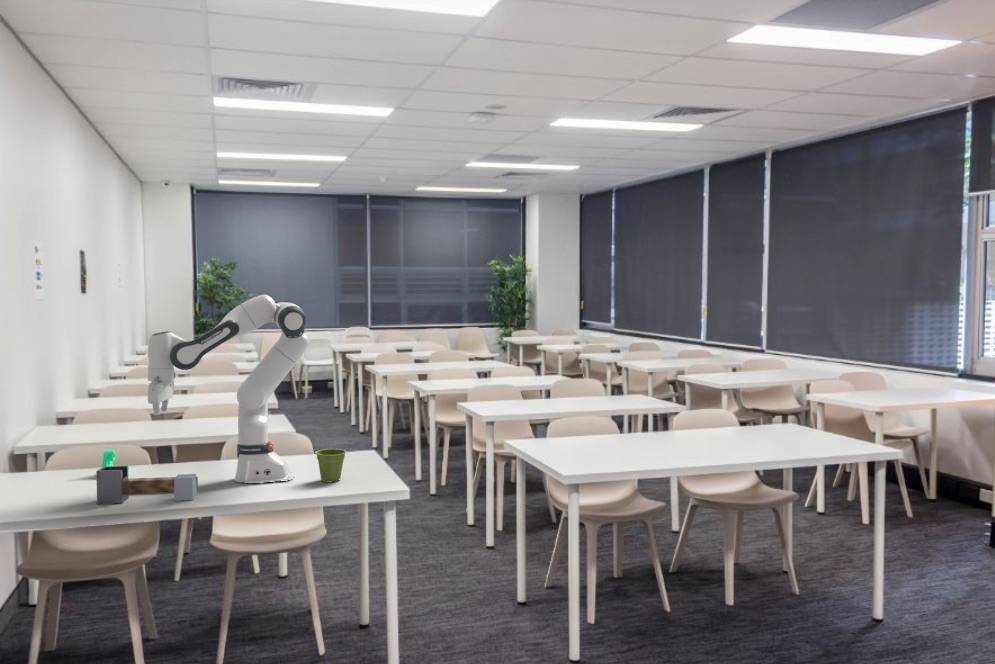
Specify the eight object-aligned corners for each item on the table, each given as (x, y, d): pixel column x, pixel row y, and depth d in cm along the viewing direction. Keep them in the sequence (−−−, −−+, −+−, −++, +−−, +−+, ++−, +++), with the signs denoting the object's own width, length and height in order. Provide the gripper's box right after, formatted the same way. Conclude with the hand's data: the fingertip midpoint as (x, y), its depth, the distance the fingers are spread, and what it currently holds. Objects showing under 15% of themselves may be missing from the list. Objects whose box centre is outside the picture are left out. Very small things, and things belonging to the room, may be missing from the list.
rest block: (196, 496, 278) (196, 473, 277) (192, 500, 272) (192, 477, 271) (178, 496, 277) (178, 474, 276) (174, 501, 271) (174, 478, 270)
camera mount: (122, 478, 305) (122, 452, 305) (101, 479, 303) (100, 453, 303) (129, 471, 317) (129, 446, 316) (109, 472, 315) (108, 447, 315)
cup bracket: (128, 498, 275) (128, 465, 274) (121, 503, 267) (121, 470, 267) (104, 498, 274) (103, 466, 273) (97, 504, 266) (96, 471, 266)
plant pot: (317, 485, 294) (317, 455, 293) (313, 478, 305) (313, 450, 304) (349, 482, 298) (349, 453, 298) (343, 476, 309) (343, 447, 309)
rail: (197, 489, 288) (197, 476, 288) (195, 492, 284) (195, 478, 284) (123, 492, 284) (122, 478, 284) (119, 495, 280) (119, 481, 280)
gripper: (161, 378, 277) (161, 417, 278) (177, 373, 297) (176, 409, 298) (143, 378, 276) (142, 417, 277) (159, 373, 296) (159, 409, 297)
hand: (160, 413), depth 287 cm, fingers open, 8 cm apart
